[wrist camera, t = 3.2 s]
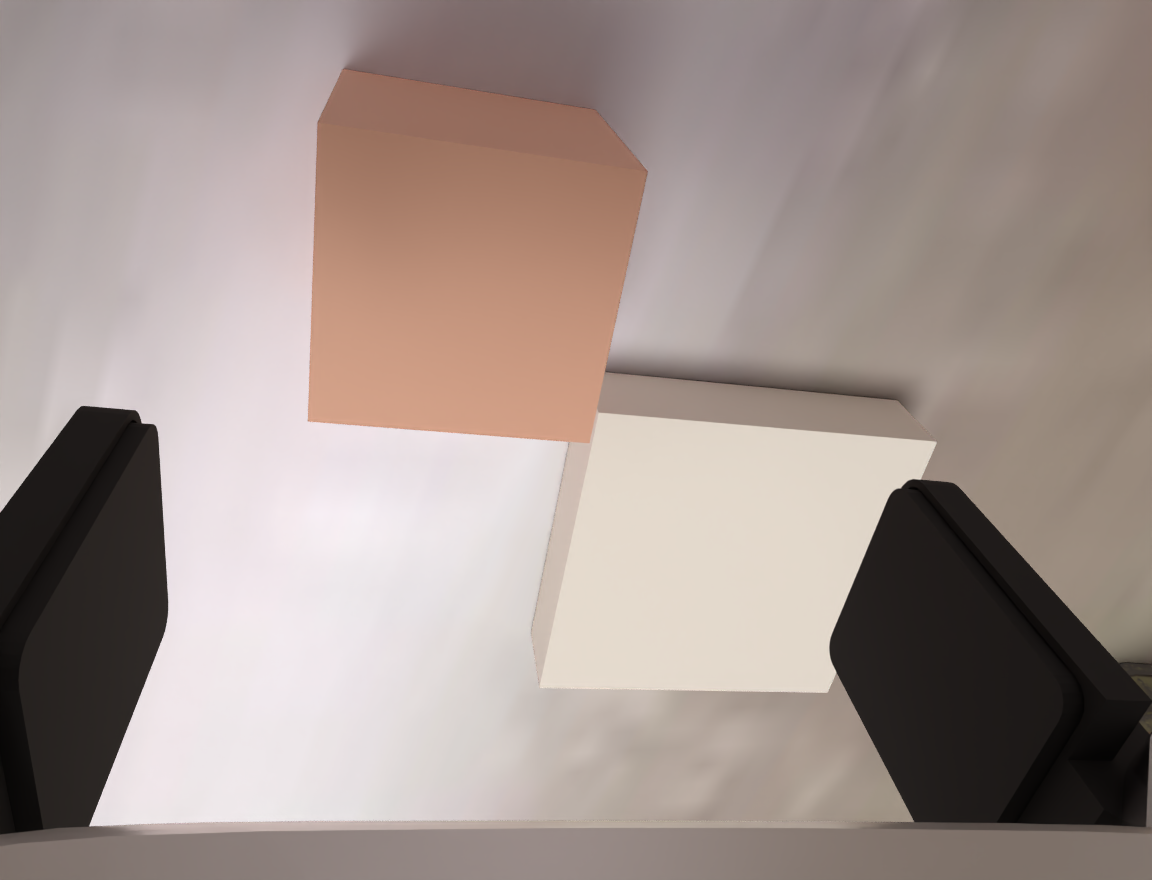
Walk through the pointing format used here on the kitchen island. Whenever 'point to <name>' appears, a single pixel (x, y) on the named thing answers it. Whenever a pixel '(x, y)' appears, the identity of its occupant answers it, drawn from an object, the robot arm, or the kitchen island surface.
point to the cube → (465, 259)
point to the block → (714, 534)
